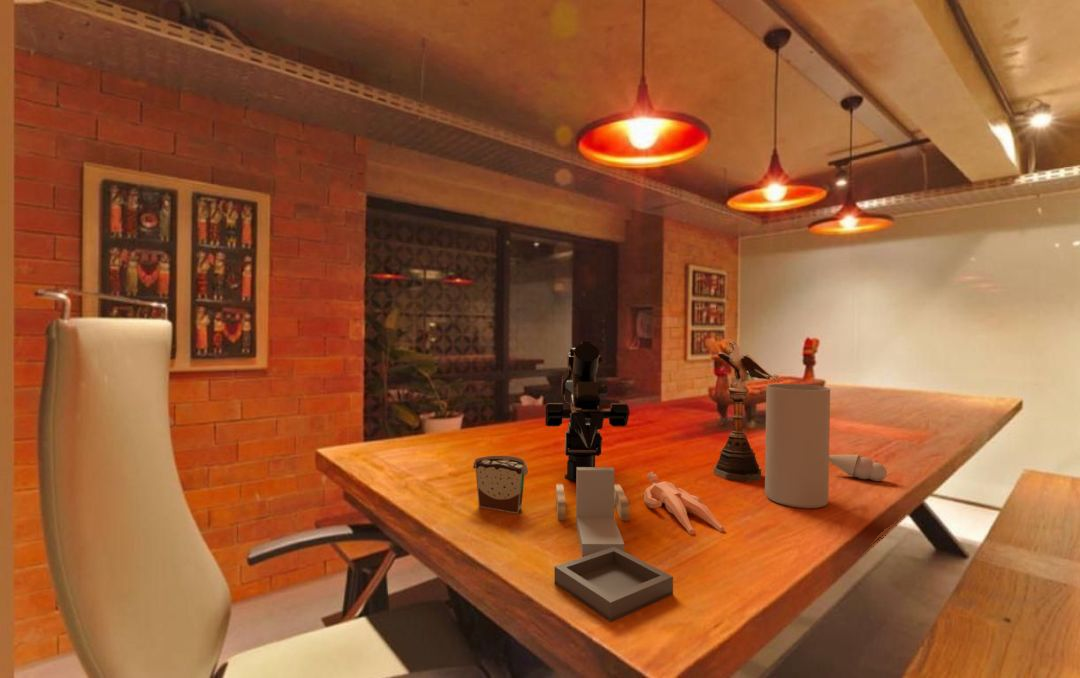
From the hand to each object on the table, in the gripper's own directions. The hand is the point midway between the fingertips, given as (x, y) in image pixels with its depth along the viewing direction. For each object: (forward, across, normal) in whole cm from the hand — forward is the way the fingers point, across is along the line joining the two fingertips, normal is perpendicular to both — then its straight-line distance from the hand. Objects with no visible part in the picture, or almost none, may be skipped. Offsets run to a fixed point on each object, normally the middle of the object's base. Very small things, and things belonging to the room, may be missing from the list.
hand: (588, 447), depth 109 cm
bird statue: (-8, +43, +25) cm, 50 cm away
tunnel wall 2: (+11, +6, +6) cm, 14 cm away
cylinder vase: (+7, +46, +11) cm, 48 cm away
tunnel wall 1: (+11, -6, +6) cm, 14 cm away
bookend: (+22, 0, -5) cm, 22 cm away
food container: (+10, -18, +7) cm, 22 cm away
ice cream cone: (-5, +69, +23) cm, 73 cm away
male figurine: (+12, +18, +6) cm, 22 cm away
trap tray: (+34, 0, -17) cm, 38 cm away
